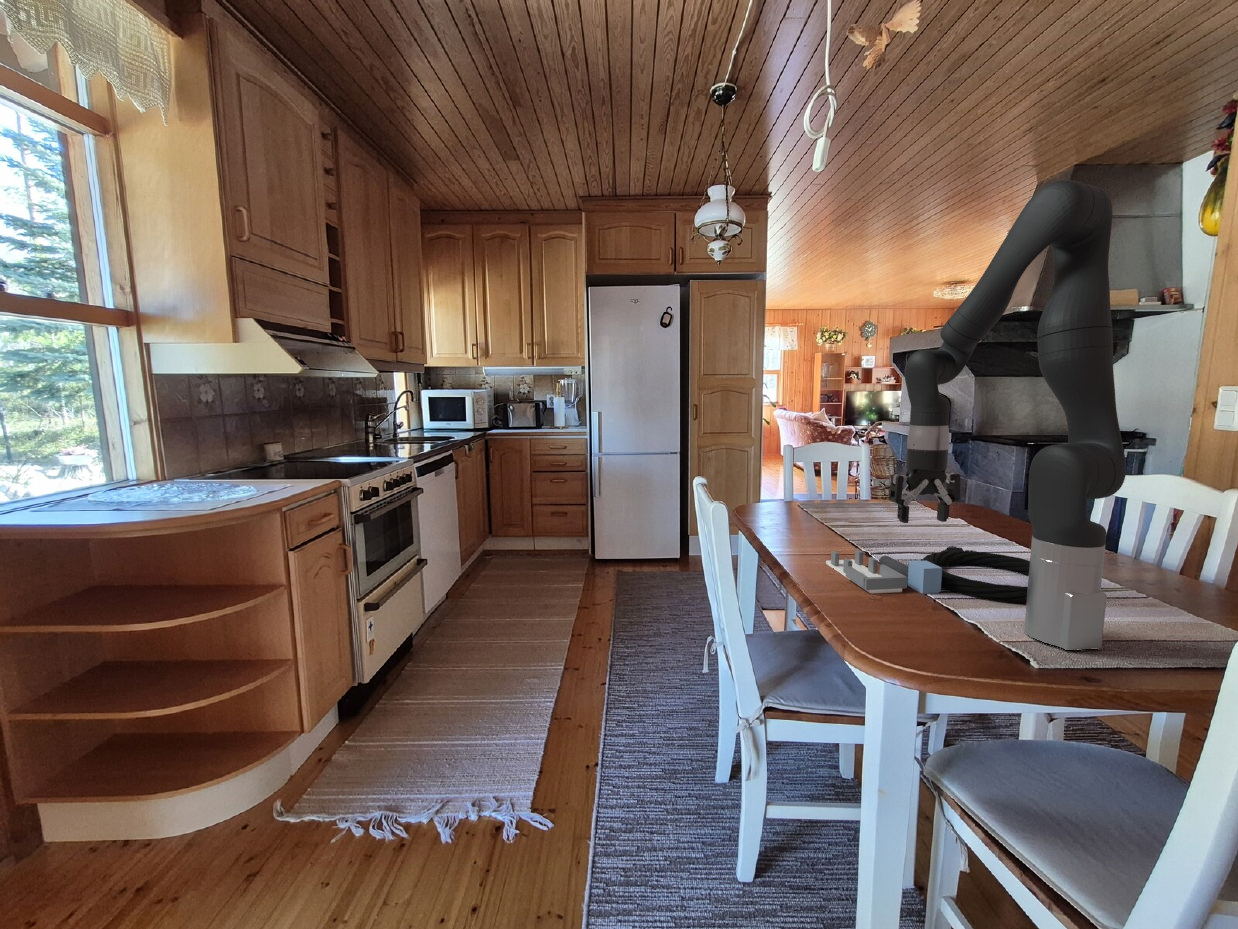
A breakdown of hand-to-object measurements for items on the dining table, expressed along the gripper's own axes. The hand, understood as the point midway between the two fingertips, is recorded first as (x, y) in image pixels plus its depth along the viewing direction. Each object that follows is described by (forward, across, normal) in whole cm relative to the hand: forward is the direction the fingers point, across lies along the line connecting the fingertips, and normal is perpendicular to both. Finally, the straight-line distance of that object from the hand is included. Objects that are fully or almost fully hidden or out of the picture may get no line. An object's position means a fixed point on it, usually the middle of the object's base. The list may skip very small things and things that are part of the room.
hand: (922, 521), depth 111 cm
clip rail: (+14, -9, +8) cm, 19 cm away
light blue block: (+15, 0, +4) cm, 15 cm away
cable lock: (+15, +17, +2) cm, 23 cm away
